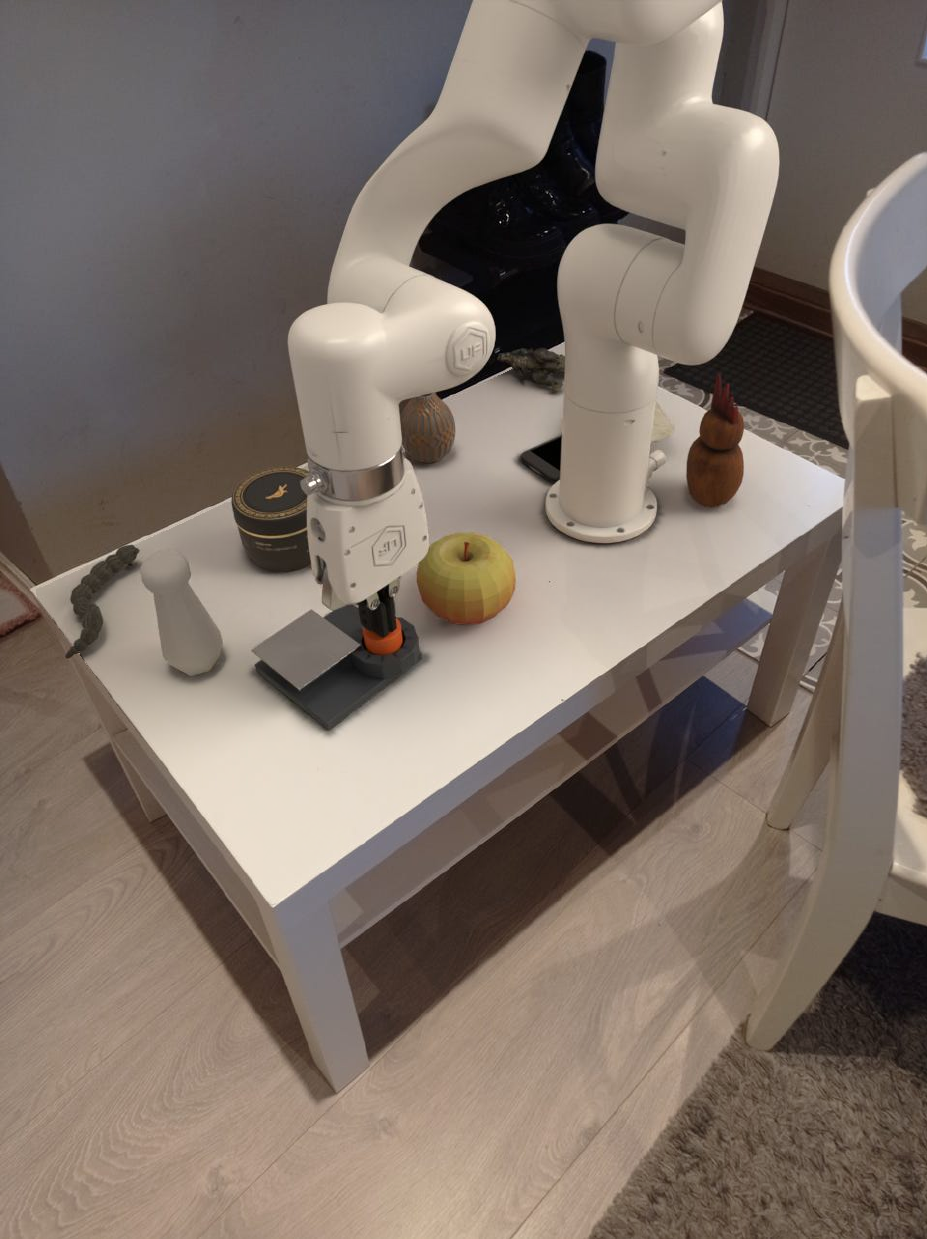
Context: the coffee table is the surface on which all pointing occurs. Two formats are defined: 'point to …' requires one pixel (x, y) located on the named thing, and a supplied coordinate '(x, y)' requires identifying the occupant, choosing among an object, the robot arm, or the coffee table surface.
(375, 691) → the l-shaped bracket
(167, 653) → the salt shaker
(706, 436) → the wooden figurine
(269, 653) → the plate
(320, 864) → the coffee table surface
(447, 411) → the vase
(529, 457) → the smartphone
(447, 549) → the apple
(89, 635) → the toy
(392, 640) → the button
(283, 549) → the jar
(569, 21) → the robot arm
